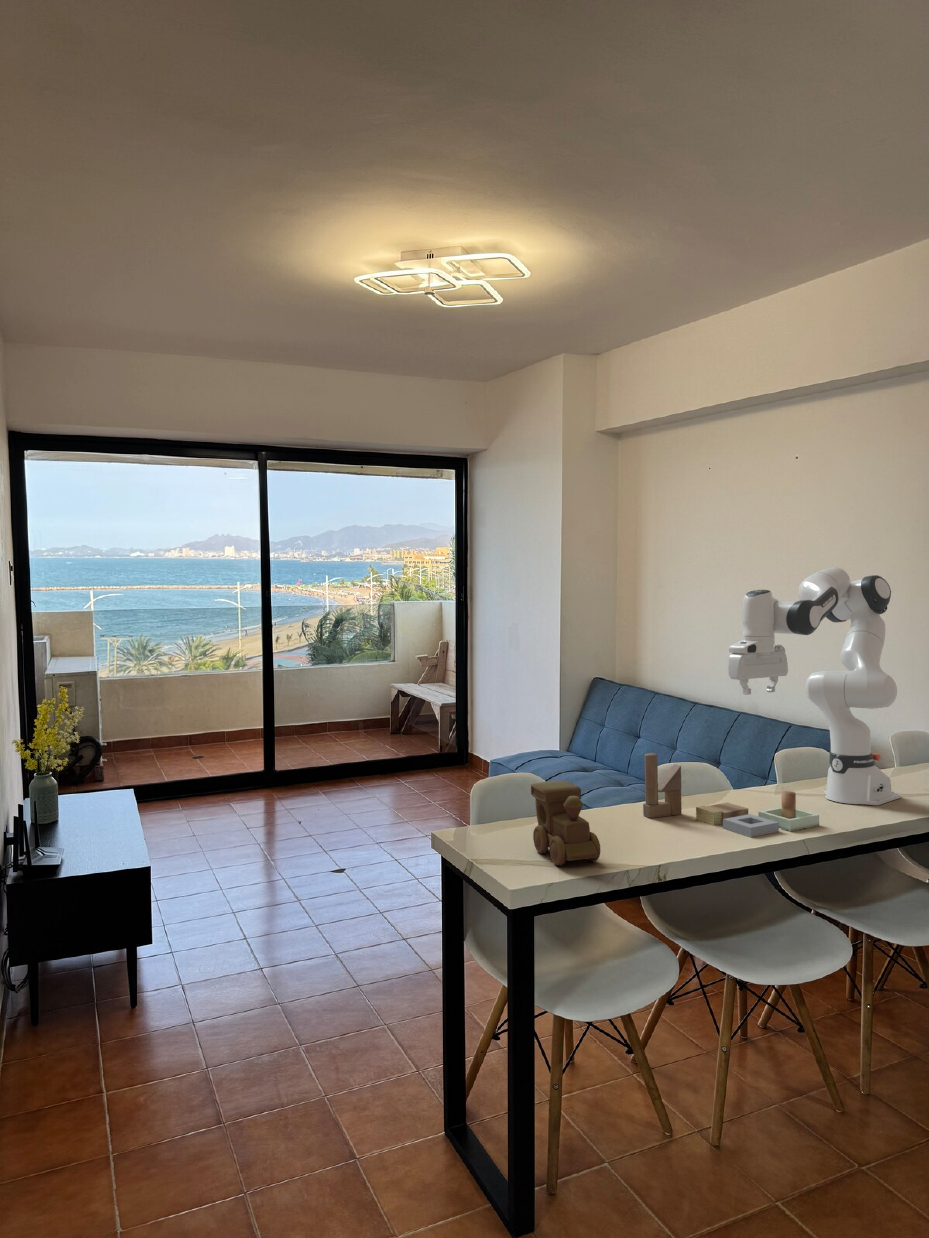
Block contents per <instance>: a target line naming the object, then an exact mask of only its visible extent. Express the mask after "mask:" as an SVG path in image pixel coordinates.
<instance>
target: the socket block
mask: <svg viewBox="0 0 929 1238" xmlns="http://www.w3.org/2000/svg"><path fill="white" fill-rule="evenodd" d="M722 829H725V830H727V831H729V832H730V831H731V832H732V833H733V832H734V833H736V834H740V835H743V836H746V837H749V838H755V837H759V836H764V835H769V834H773V833H778V832H779V822H776V821H772V820H769V819H765V818H762V817H759V815H755V814H751V813H750V814H749V813H748V815H742V816H737V817H731V818H726V819H723V824H722Z"/></svg>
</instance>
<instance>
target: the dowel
mask: <svg viewBox="0 0 929 1238" xmlns="http://www.w3.org/2000/svg"><path fill="white" fill-rule="evenodd" d="M796 795H797V793H796V792H795V791H790V790H789V791H788V790H785V791H783V790H782V791H781V807H782V817H784V818H787V819H793V818H796V809H797V806H796V805H797V803H796V802H797V800H796V799H797V796H796Z"/></svg>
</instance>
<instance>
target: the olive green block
mask: <svg viewBox="0 0 929 1238" xmlns="http://www.w3.org/2000/svg"><path fill="white" fill-rule="evenodd" d="M707 806H708V805H707ZM707 806H706V805H700V806H696V807H695V816H696V818H695V819H696V820H698V821H700V822H703V823H706V824H709V825H712V826H717V825H723V824H722V811H720V810H717V809H713V808H710V807H707Z"/></svg>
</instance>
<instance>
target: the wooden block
mask: <svg viewBox="0 0 929 1238" xmlns="http://www.w3.org/2000/svg"><path fill="white" fill-rule="evenodd" d="M658 769H659V768H658V754H657V753H653V752H647V753H645V754H644V781H645V782H644V786H645V787H644V791H645V792H644V793H645V795H644V796H645V803H643V804H642V808H643V809H642V811H643V812H642V815H643V816H644V817H646V818H648V819H653V818H654V819H655V818H663V817H672V816H671V815H674V816H680V814H681V815H682V765H679V764H676V763H673V765H672V766H671V767H670V769H669V770H668V771H667V772H666V774H665V775H664V776H663V778H661V780H660V781H659V776H658V775H659V774H658V773H659V771H658ZM659 793H664V801H659Z"/></svg>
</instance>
